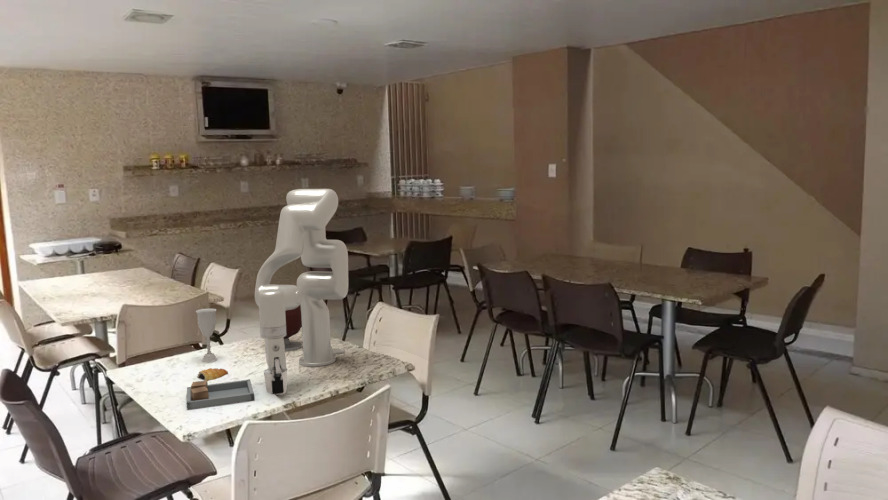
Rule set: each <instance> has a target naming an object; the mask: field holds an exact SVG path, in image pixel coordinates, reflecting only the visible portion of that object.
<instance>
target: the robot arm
mask: <svg viewBox="0 0 888 500" xmlns="http://www.w3.org/2000/svg"><path fill="white" fill-rule="evenodd" d="M285 200H286V205H285V206H283V207H282V209H281V211H280V215H279V220H278V227H277V236H276V240H275V241H276V243H275V248H274V251H273V253H272V254H271V255H270V256H269V257H268V258H267V259H266V260H265V261H264V263H263V264H262V265H261V267H260V268H259V270H258V272H257V276H256V280H255V286H254V287H255V289H254V303H255V304H256V305H257V307H258V316H259V317H258V318H259V332H260V338H261V339H264V350H265V358H266V365H267V369H269V370H270V371H271V372H272V379H273V381H272V393H271V394H272V395H275V394H278V393H283V392H284V390H283V379H282V369H284V370H286V368H287V360H286V358H287V357H286V352H285V346H284V338H283V337H285V336H286V335H287V334H286V315H285V311H286V310H292V309H295V308H297V307H298V306H299V305H300V306H301V321H302V327H301V338H302V354H303V355H302V356H301V357H299V359H298V363H299V365H301V366H304V367H305V366H306V367H321V366H327V365H331V364H333V363H334V362H336V360H337V359H336V356H337V355H345V353H346V352H345V348H340V347H336V348H333V347H332V344H331V328H330V327H331V323H330V322H331V321H330V311H329V308H328V305H327V304H326V302H325V301H324V300H331V301H332V300H336V301H338V300H339V301H340V300H343V299H344V298H346V297H347V296H348V293H349V253H348V248H347V245H346V244H345V243H344V241H342V240H339V239H327V237H326V235H327V233H326V226H327V225H328V224H329V222H330V221H331V220H332V218H333V217H334V215H335V213H336V212H337V209H338V206H339V197H338V195H337V193H336V191H335V190H333V189H331V188H298V189H293V190H290V191H288V192H287V194H286V198H285ZM299 258H300V259H301V264H302V265H303V266H304V267H307V268H324V269H325V268H329V269H331V270H332V271H322V270H321V271H320V270H319V271H311V270H310V271H306V272H302V273H300V275H299V276H298V277H297V279H296V284H276V283H275V284H271V280H272V279H273V276H274V274H275V273H276V271H278V270H279V269H280V268H281V267H283V266H285V265H287V264H289V263H291V262H293V261H295V260H297V259H299ZM281 367H282V369H281ZM273 368H275V370H273ZM274 372H276V374H275V375H274Z"/></svg>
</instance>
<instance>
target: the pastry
mask: <svg viewBox="0 0 888 500" xmlns="http://www.w3.org/2000/svg"><path fill="white" fill-rule="evenodd" d="M226 375H229V371H228V370H227V369H225V368H207V369H202V370H201V371H199V372H198V374H197V376H196V379H200V380H204V381H207V382H209V381H213V380H214V381H215V380H217V379H220V378H222V377H224V376H226Z"/></svg>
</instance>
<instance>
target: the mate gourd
mask: <svg viewBox="0 0 888 500" xmlns="http://www.w3.org/2000/svg"><path fill="white" fill-rule="evenodd" d="M285 315H286V334H287V335H286V336H285V337H283V338H284V346H285V353H286V352H291V351H296V350H299V349H301V348H303V342H300V341H295V340H294V341H293V340H292V341H291V340H290V337H292V336H293V337H294V336H295V335H297V334H299V332H300V330H302V321H301V306H300V305H299V306H298V307H297V308H295V309H292V310H286V311H285Z"/></svg>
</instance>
